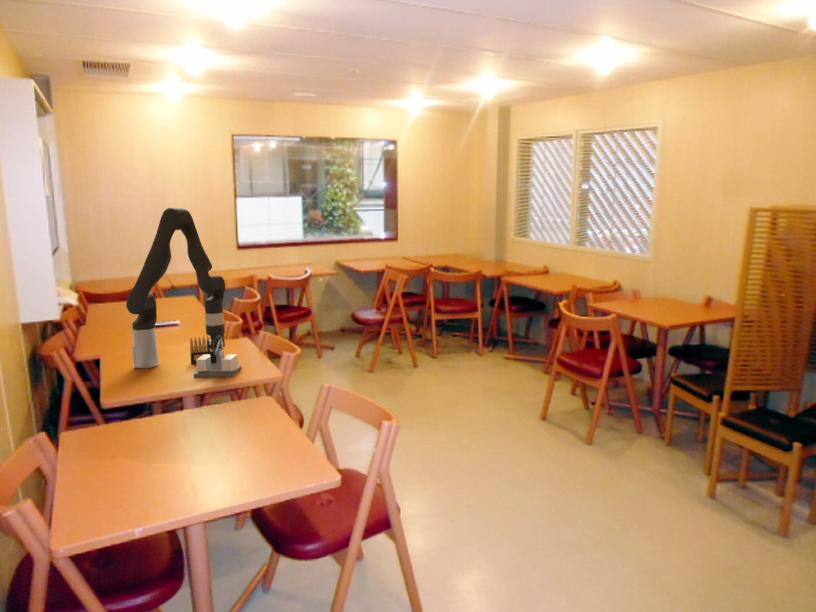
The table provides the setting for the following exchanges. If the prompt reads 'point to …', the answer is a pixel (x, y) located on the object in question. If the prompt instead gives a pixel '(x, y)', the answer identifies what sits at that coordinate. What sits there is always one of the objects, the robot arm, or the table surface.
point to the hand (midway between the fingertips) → (217, 360)
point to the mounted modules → (227, 362)
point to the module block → (218, 360)
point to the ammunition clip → (197, 349)
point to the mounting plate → (216, 373)
